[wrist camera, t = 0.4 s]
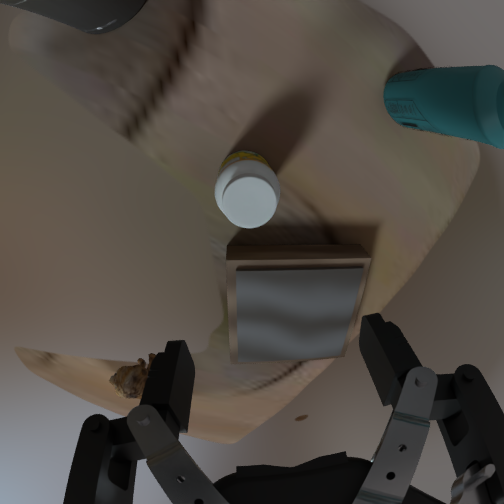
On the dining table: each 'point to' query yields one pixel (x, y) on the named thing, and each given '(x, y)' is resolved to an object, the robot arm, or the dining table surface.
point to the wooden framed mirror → (293, 300)
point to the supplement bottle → (247, 189)
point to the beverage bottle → (450, 101)
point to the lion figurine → (131, 379)
